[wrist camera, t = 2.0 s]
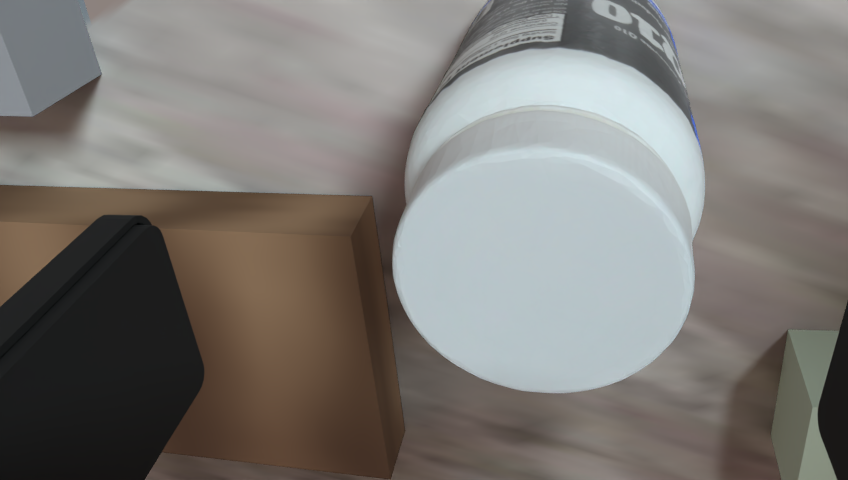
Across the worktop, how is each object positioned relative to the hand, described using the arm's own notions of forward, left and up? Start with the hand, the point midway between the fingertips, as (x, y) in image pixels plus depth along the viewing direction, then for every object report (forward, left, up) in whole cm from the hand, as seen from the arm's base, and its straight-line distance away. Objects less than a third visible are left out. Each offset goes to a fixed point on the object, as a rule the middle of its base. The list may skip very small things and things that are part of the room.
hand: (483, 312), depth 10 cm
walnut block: (+10, +7, -8) cm, 15 cm away
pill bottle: (-1, -1, -9) cm, 9 cm away
